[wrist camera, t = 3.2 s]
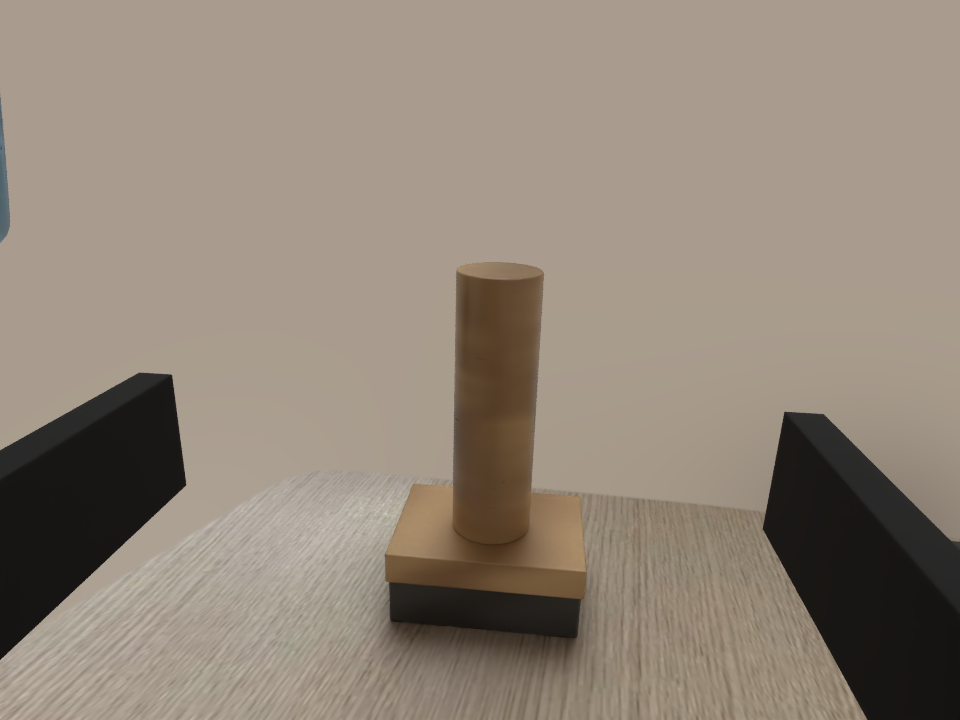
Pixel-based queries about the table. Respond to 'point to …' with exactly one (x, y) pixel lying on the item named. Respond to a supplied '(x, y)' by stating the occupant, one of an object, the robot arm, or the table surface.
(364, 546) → the table surface
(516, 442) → the wooden peg stand
